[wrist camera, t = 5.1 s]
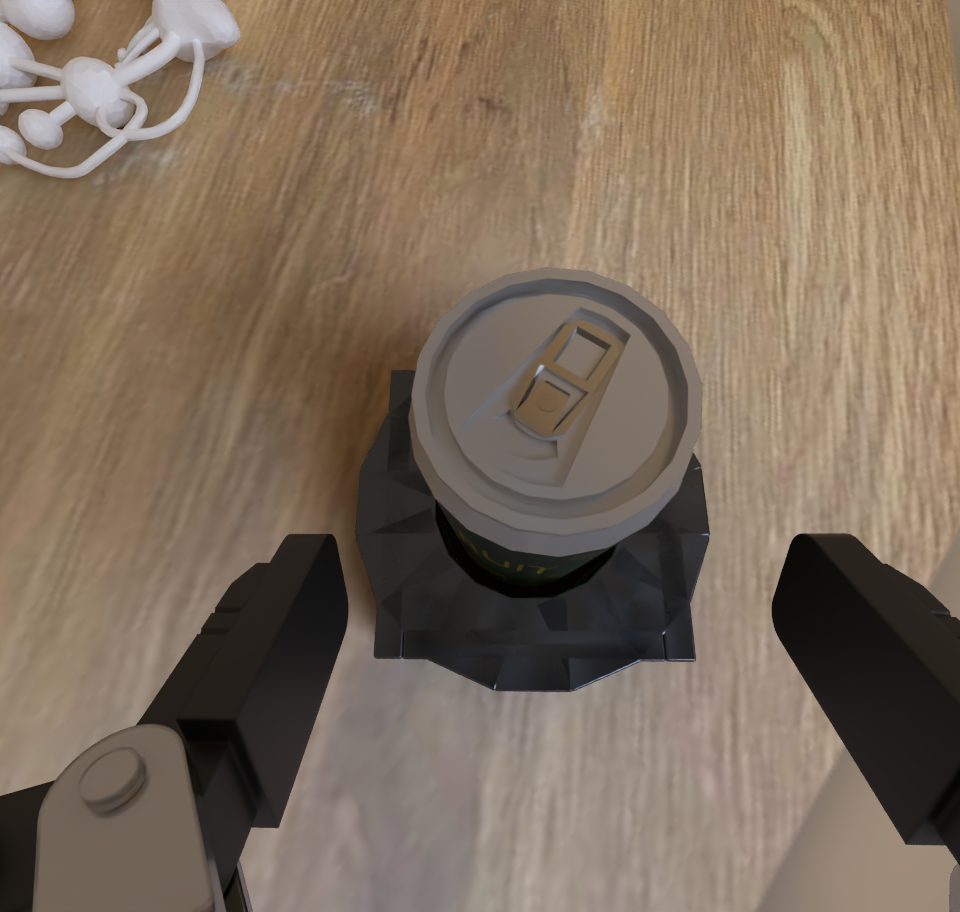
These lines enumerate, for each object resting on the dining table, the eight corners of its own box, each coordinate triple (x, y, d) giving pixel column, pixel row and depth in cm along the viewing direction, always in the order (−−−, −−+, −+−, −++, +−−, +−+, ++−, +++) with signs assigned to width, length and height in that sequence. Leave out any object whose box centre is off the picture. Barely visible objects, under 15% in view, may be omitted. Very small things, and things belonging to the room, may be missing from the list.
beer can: (506, 428, 21) (511, 211, 10) (620, 499, 20) (773, 349, 9) (430, 534, 20) (334, 430, 9) (546, 617, 19) (612, 621, 8)
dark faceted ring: (662, 379, 22) (686, 343, 19) (695, 681, 18) (731, 694, 15) (386, 382, 22) (368, 348, 19) (366, 677, 19) (342, 689, 16)
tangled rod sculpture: (-55, 288, 26) (-156, 237, 22) (-127, 86, 29) (-228, 8, 25) (290, 124, 27) (255, 48, 23) (190, -53, 30) (143, -148, 26)
